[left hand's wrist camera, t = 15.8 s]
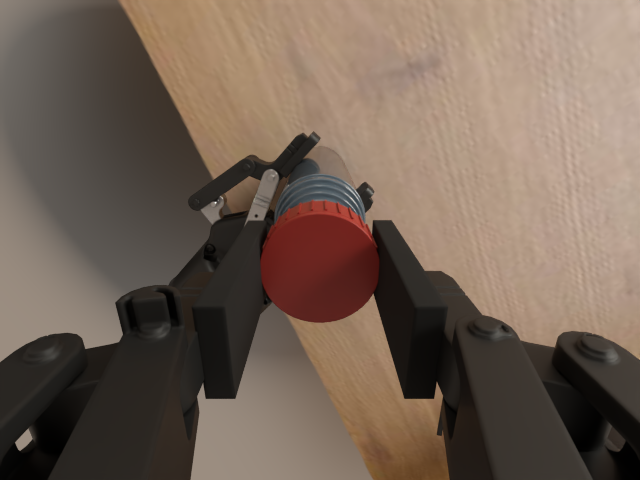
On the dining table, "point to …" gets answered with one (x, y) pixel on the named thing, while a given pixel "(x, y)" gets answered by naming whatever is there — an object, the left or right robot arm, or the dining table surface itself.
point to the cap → (319, 262)
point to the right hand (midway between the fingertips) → (343, 162)
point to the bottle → (320, 183)
